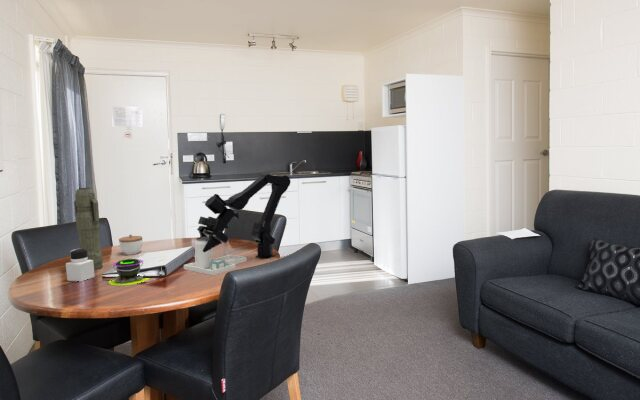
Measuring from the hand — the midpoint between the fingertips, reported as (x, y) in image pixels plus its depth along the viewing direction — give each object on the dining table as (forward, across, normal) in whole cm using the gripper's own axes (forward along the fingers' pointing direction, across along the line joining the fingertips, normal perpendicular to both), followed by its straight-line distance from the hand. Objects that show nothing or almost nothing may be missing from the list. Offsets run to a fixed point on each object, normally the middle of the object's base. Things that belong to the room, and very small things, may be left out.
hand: (200, 250), depth 195 cm
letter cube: (+3, +9, +8) cm, 12 cm away
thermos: (+30, -37, -18) cm, 51 cm away
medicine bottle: (+35, -22, -24) cm, 47 cm away
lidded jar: (+14, -55, -3) cm, 57 cm away
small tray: (-4, -1, +15) cm, 16 cm away
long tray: (+4, +3, +7) cm, 9 cm away
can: (+4, -1, +6) cm, 8 cm away
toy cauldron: (+25, -6, -14) cm, 29 cm away
